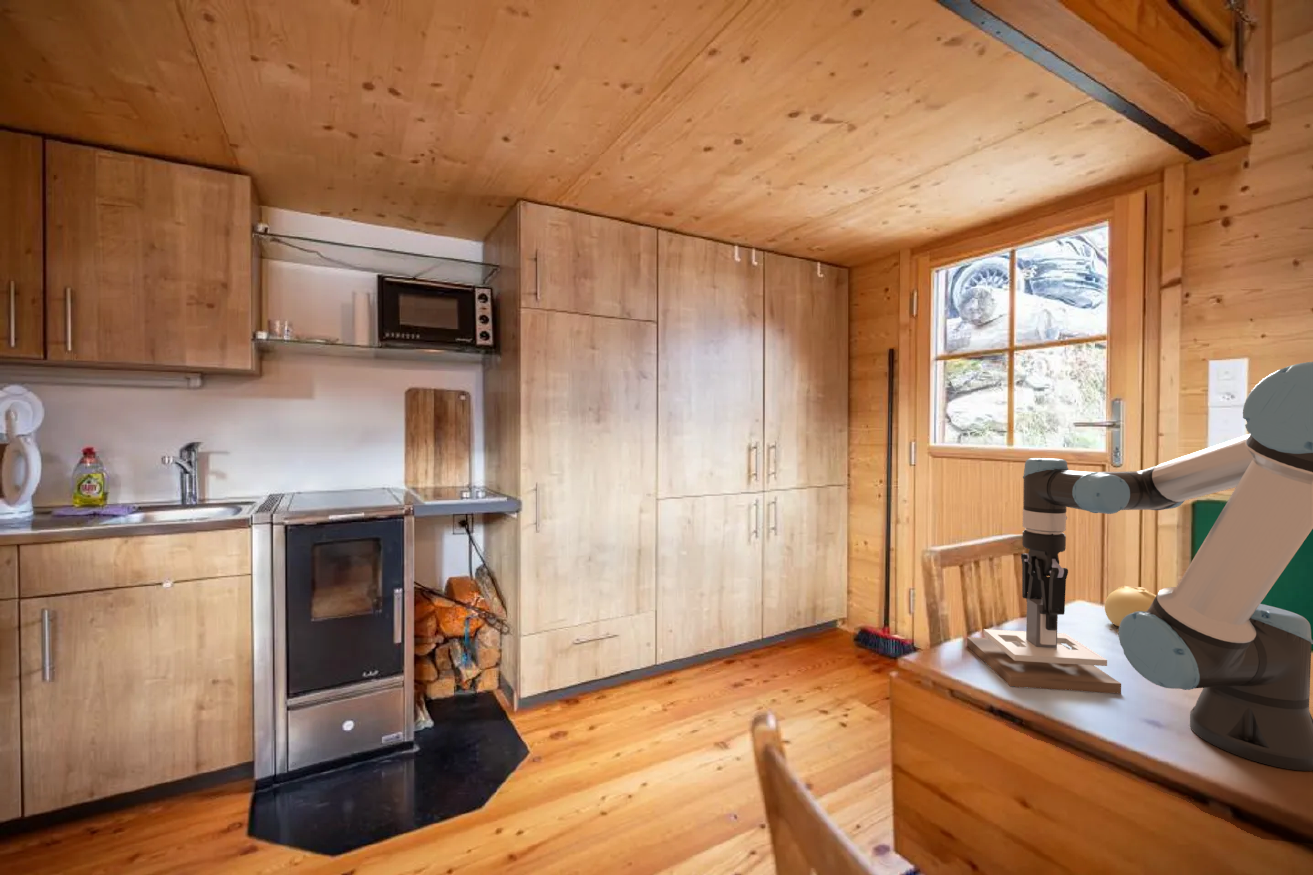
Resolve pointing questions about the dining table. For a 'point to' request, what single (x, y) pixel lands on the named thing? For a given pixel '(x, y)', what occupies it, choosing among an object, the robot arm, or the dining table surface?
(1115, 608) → the sculpture
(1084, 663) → the panel
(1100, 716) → the dining table surface
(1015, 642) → the board
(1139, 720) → the dining table surface
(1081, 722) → the dining table surface
